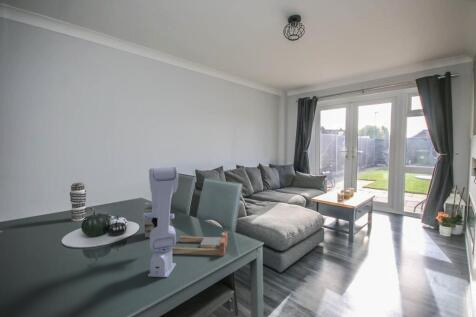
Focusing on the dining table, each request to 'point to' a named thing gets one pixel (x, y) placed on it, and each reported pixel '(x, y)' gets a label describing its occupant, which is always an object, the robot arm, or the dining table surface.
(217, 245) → the lock block
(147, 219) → the coffee box
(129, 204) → the dining table surface
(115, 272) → the dining table surface
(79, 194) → the decorative candle
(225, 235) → the coupler track
